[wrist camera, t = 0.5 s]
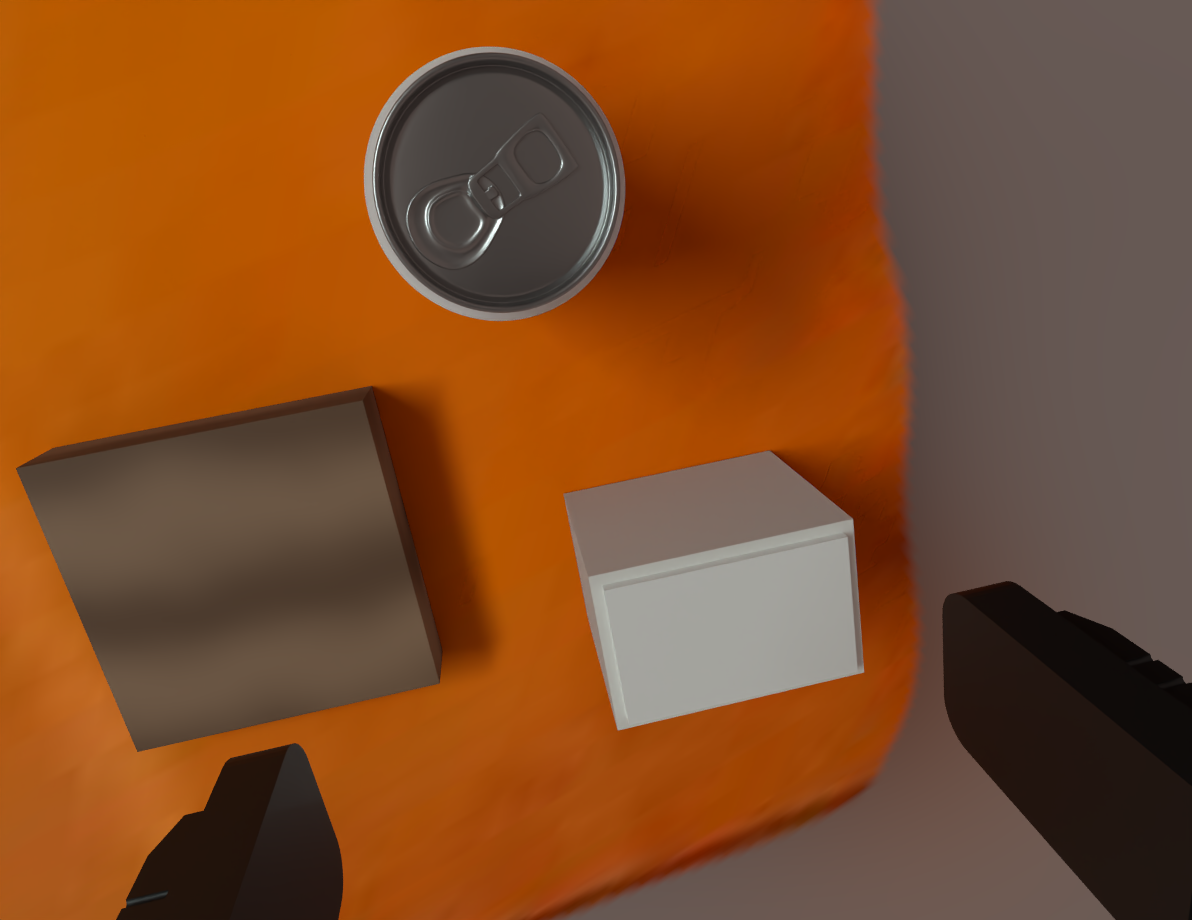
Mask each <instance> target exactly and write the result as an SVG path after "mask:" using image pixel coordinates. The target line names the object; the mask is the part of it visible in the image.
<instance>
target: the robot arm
mask: <svg viewBox="0 0 1192 920" xmlns="http://www.w3.org/2000/svg"><path fill="white" fill-rule="evenodd" d="M943 663H944V664H943V665H944V699H945V706H946V710H947V714H948V717H949V720H950V722H951V725H952V727H953V729H954V731H955V733H956V735H957V737H958V739H959V740H960V742H961V744H962V745H963V746H964V748H965V749H966V750H967V751H968V752H969V753H970V754H971V756H972V757H973V758H974V759H975V760H976V762H977V763H978V764H979V765H980V766H981V767H982V768H983V770H985V772H986V773H987V774H988V775H989V776H990V777H991V778H992V780H993V781H994V782H995V783H996V784H997V785H998V787H999V788H1000V789H1001V790H1002V791H1003V792H1004V793H1005V794H1006V796H1007V797H1008V798H1009V799H1010V800H1011V801H1012V802H1013V804H1014V805H1015V806H1016V807H1017V808H1018V809H1019V810H1020V812H1021V813H1022V814H1023V815H1024V816H1025V817H1026V818H1027V819H1028V821H1029V822H1030V823H1031V824H1032V825H1033V826H1034V827H1035V828H1036V830H1037V831H1038V832H1039V833H1040V834H1041V835H1042V836H1043V838H1044V839H1045V840H1046V841H1047V842H1048V843H1049V845H1050V846H1051V847H1052V848H1053V849H1054V850H1055V851H1056V853H1057V854H1058V855H1059V856H1060V857H1061V858H1062V859H1063V860H1064V861H1065V863H1066V864H1067V865H1068V866H1069V867H1070V868H1071V869H1072V871H1073V872H1074V873H1075V874H1076V875H1077V876H1078V877H1079V879H1080V880H1081V881H1082V882H1083V883H1084V884H1085V885H1086V887H1087V888H1088V889H1089V890H1090V891H1091V892H1092V893H1093V895H1094V896H1095V897H1096V898H1097V899H1098V900H1099V901H1100V903H1101V904H1102V905H1103V906H1104V907H1105V908H1106V909H1107V911H1108V912H1109V913H1110V914H1111V915H1112V916H1113V917H1114V918H1115V919H1116V920H1192V683H1187V684H1186V683H1185V682H1184V680H1183V677H1182V676H1181V675H1179V674H1178V673H1176V672H1175V671H1174V670H1172V669H1171V668H1169V667H1168V666H1166V665H1165V664H1163V663H1162V662H1160V661H1159V660H1156V661H1153V660H1152V658H1151V655H1150V654H1149V653H1147V652H1146V651H1144V650H1143V649H1141V648H1140V647H1139V646H1137V645H1136V644H1134V643H1133V642H1131V641H1130V640H1128V639H1127V638H1125V637H1124V636H1123V635H1121V634H1120V633H1118V632H1117V631H1115V630H1113V629H1112V628H1109V627H1107V626H1104V625H1102V624H1099V623H1096V622H1094V621H1091V620H1089V619H1086V618H1083V617H1081V616H1078V615H1075V614H1073V613H1070V612H1068V611H1060V612H1055V611H1054V610H1053V609H1051V608H1050V607H1048V606H1047V605H1046V604H1044V603H1043V602H1042V601H1040V600H1039V599H1037V598H1036V597H1035V596H1033V595H1032V594H1030V593H1029V592H1028V591H1026V590H1025V589H1024V588H1022V587H1021V586H1019V585H1018V584H1016V583H1014V582H1011V581H1005V582H1001V583H997V584H992V585H988V586H984V587H980V588H975V589H971V590H967V591H962V592H958V593H953V594H950V595H948V596H947V597H946V599H945V602H944V604H943ZM342 893H343V869H342V860H341V854H340V849H339V845H338V841H337V838H336V835H335V833H334V830H333V827H332V824H331V822H330V819H329V816H328V813H327V811H326V808H325V805H324V802H323V799H322V797H321V794H320V791H319V788H318V786H317V783H316V780H315V777H314V775H313V772H312V769H311V766H310V764H309V761H308V758H307V756H306V754H305V752H304V750H303V749H302V747H301V746H300V745H298V744H296V743H294V744H290V745H286V746H281V747H277V748H273V749H268V750H264V751H259V752H255V753H251V754H246V755H242V756H238V757H233V758H230V759H229V760H228V761H227V762H226V763H225V764H224V766H223V768H222V770H221V773H220V775H219V777H218V779H217V782H216V784H215V786H214V788H213V791H212V793H211V795H210V798H209V800H208V802H207V804H206V807H205V809H204V811H200V812H196V813H192V814H188V815H184V816H183V818H182V819H181V820H180V821H179V822H178V823H177V824H176V825H175V826H174V828H173V829H172V830H171V831H170V832H169V833H168V834H167V835H166V836H165V838H164V839H163V840H162V841H161V842H160V843H159V844H158V845H157V846H156V847H155V849H154V850H153V851H152V852H151V853H150V854H149V855H148V857H147V859H146V861H145V863H144V865H143V867H142V869H141V871H140V873H139V875H138V877H137V879H136V881H135V883H134V885H133V887H132V889H131V891H130V893H129V895H128V897H127V899H126V902H127V906H126V908H123V909H121V911H120V913H119V915H118V917H117V919H116V920H338V918H339V912H340V907H341V901H342Z"/></svg>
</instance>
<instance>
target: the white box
mask: <svg viewBox="0 0 1192 920" xmlns="http://www.w3.org/2000/svg"><path fill="white" fill-rule="evenodd" d="M564 498H565V503H566V509H567V514H568V519H569V524H570V529H571V534H572V539H573V544H574V549H575V554H576V560H577V565H578V570H579V575H580V580H581V585H582V590H583V595H584V600H585V605H586V611H587V616H588V620H589V624H590V628H591V631H592V635H593V639H594V643H595V646H596V650H597V654H598V658H599V661H600V665H601V669H602V673H603V677H604V680H605V684H606V688H607V692H608V695H609V699H610V703H611V707H612V710H613V714H614V718H615V722H616V725H617V729H618V730H622V729H626V728H630V727H634V726H639V725H643V724H647V723H651V722H655V721H660V720H664V719H668V718H672V717H677V716H681V715H685V714H689V713H694V712H698V711H702V710H706V709H711V708H715V707H719V706H723V705H728V704H732V703H736V702H740V701H745V700H749V699H753V698H757V697H762V696H766V695H770V694H774V693H779V692H783V691H787V690H791V689H796V688H800V687H804V686H808V685H812V684H817V683H821V682H825V681H829V680H834V679H838V678H842V677H846V676H851V675H855V674H859V673H863V672H864V665H863V651H862V637H861V623H860V609H859V595H858V581H857V567H856V553H855V539H854V525H853V518H851V517H850V516H849V515H848V514H846V513H845V512H844V511H843V510H842V509H840V508H839V507H838V506H837V505H835V504H834V503H833V502H832V501H831V500H829V499H828V498H827V497H826V496H824V495H823V494H822V493H821V492H820V491H818V490H817V489H816V488H815V487H814V486H812V485H811V484H810V483H809V482H807V481H806V480H805V479H804V478H803V477H801V476H800V475H799V474H798V473H796V472H795V471H794V470H793V469H792V468H790V467H789V466H788V465H787V464H785V463H784V462H783V461H782V460H781V459H779V458H778V457H777V456H776V455H774V454H773V453H772V452H771V451H765V452H761V453H756V454H751V455H746V456H742V457H737V458H732V459H727V460H723V461H718V462H713V463H708V464H703V465H699V466H694V467H689V468H684V469H680V470H675V471H670V472H665V473H661V474H656V475H651V476H646V477H642V478H637V479H632V480H627V481H622V482H618V483H613V484H608V485H603V486H599V487H594V488H589V489H584V490H580V491H575V492H570V493H565V494H564Z"/></svg>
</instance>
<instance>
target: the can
mask: <svg viewBox="0 0 1192 920" xmlns="http://www.w3.org/2000/svg"><path fill="white" fill-rule="evenodd" d="M364 190H365V198H366V205H367V210H368V214H369V217H370V221H371V224H372V227H373V230H374V232H375V235H376V237H377V239H378V241H379V243H380V245H381V247H382V249H383V251H384V253H385V254H386V256H387V257H388V259H389V260H390V262H391V263H392V265H393V266H394V267H395V269H396V270H397V271H398V272H399V273H400V275H401V276H402V277H403V278H404V279H405V280H406V281H407V282H408V283H409V284H410V285H411V286H412V287H413V288H415V289H416V290H417V291H418V292H419V293H421V294H422V295H423V296H425V297H426V298H428V299H429V300H431V301H432V302H434V303H436V304H438V305H439V306H441V307H443V308H445V309H448V310H450V311H452V312H455V313H458V314H461V315H464V316H467V317H471V318H476V319H482V320H491V321H509V320H518V319H524V318H529V317H533V316H536V315H539V314H542V313H545V312H547V311H549V310H552V309H554V308H556V307H558V306H560V305H561V304H563V303H565V302H566V301H568V300H569V299H571V298H572V297H573V296H575V295H576V294H577V293H578V292H580V291H581V290H582V289H583V288H584V287H585V286H586V285H587V284H588V283H589V282H590V281H591V280H592V279H593V278H594V276H595V275H596V274H597V273H598V271H599V270H600V269H601V267H602V266H603V264H604V263H605V261H606V259H607V258H608V256H609V254H610V252H611V250H612V248H613V246H614V243H615V241H616V238H617V236H618V233H619V230H620V226H621V222H622V218H623V212H624V204H625V175H624V167H623V161H622V157H621V152H620V149H619V146H618V143H617V140H616V137H615V135H614V132H613V130H612V128H611V126H610V124H609V122H608V120H607V118H606V116H605V114H604V113H603V111H602V110H601V108H600V107H599V105H598V104H597V102H596V101H595V100H594V99H593V97H592V96H591V95H590V94H589V93H588V92H587V90H586V89H585V88H584V87H583V86H582V85H581V84H580V83H579V82H577V81H576V80H575V79H574V78H573V77H572V76H570V75H569V74H568V73H566V72H565V71H564V70H562V69H561V68H559V67H558V66H556V65H554V64H552V63H551V62H549V61H547V60H545V59H543V58H540V57H538V56H535V55H533V54H530V53H527V52H523V51H520V50H515V49H510V48H503V47H476V48H469V49H463V50H459V51H455V52H452V53H449V54H446V55H444V56H441V57H439V58H437V59H435V60H433V61H431V62H429V63H427V64H426V65H424V66H423V67H421V68H420V69H418V70H417V71H415V72H414V73H413V74H412V75H410V76H409V77H408V78H407V79H406V80H405V81H404V82H403V83H402V84H401V85H400V86H399V87H398V88H397V89H396V90H395V92H394V93H393V94H392V95H391V97H390V98H389V99H388V101H387V102H386V104H385V105H384V107H383V109H382V110H381V112H380V114H379V116H378V118H377V120H376V123H375V125H374V127H373V130H372V133H371V136H370V139H369V143H368V147H367V152H366V158H365V167H364Z"/></svg>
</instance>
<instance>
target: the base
mask: <svg viewBox="0 0 1192 920" xmlns="http://www.w3.org/2000/svg"><path fill="white" fill-rule="evenodd" d="M16 470H17V472H18V474H19V477H20V479H21V481H22V484H23V486H24V488H25V491H26V493H27V495H28V498H29V500H30V502H31V505H32V507H33V509H34V512H35V514H36V516H37V519H38V521H39V523H40V526H41V528H42V530H43V533H44V535H45V537H46V540H47V542H48V544H49V547H50V549H51V551H52V554H53V556H54V558H55V561H56V563H57V565H58V568H59V570H60V572H61V575H62V577H63V579H64V581H65V584H66V586H67V588H68V591H69V593H70V595H71V598H72V600H73V602H74V605H75V607H76V609H77V612H78V614H79V616H80V619H81V621H82V623H83V626H84V628H85V630H86V633H87V635H88V637H89V640H90V642H91V644H92V647H93V649H94V651H95V654H96V656H97V658H98V661H99V663H100V665H101V668H102V670H103V672H104V675H105V677H106V679H107V682H108V684H109V686H110V689H111V691H112V693H113V696H114V698H115V700H116V703H117V705H118V707H119V710H120V712H121V714H122V717H123V719H124V721H125V724H126V726H127V728H128V731H129V733H130V735H131V738H132V740H133V742H134V745H135V747H136V749H137V752H139V751H143V750H148V749H152V748H157V747H161V746H166V745H170V744H174V743H179V742H183V741H188V740H192V739H196V738H201V737H205V736H210V735H214V734H219V733H223V732H227V731H232V730H236V729H241V728H245V727H249V726H254V725H258V724H263V723H267V722H271V721H276V720H280V719H285V718H289V717H294V716H298V715H302V714H307V713H311V712H316V711H320V710H324V709H329V708H333V707H338V706H342V705H346V704H351V703H355V702H360V701H364V700H369V699H373V698H377V697H382V696H386V695H391V694H395V693H399V692H404V691H408V690H413V689H417V688H421V687H426V686H430V685H435V684H439V683H440V674H441V662H442V647H441V644H440V640H439V636H438V633H437V629H436V625H435V621H434V618H433V614H432V610H431V606H430V603H429V599H428V595H427V591H426V588H425V584H424V580H423V576H422V573H421V569H420V565H419V561H418V558H417V554H416V550H415V546H414V543H413V539H412V535H411V531H410V528H409V524H408V520H407V516H406V513H405V509H404V505H403V501H402V498H401V494H400V490H399V486H398V483H397V479H396V475H395V471H394V468H393V464H392V460H391V456H390V453H389V449H388V445H387V442H386V438H385V434H384V430H383V427H382V423H381V419H380V415H379V412H378V408H377V404H376V400H375V397H374V393H373V389H372V386H369V387H364V388H359V389H354V390H349V391H344V392H338V393H333V394H328V395H323V396H318V397H313V398H308V399H302V400H297V401H292V402H287V403H282V404H277V405H272V406H267V407H261V408H256V409H251V410H246V411H241V412H236V413H231V414H226V415H220V416H215V417H210V418H205V419H200V420H195V421H190V422H185V423H179V424H174V425H169V426H164V427H159V428H154V429H149V430H143V431H138V432H133V433H128V434H123V435H118V436H113V437H108V438H102V439H97V440H92V441H87V442H82V443H77V444H72V445H67V446H61V447H56V448H52V449H50V450H49V451H47V452H45V453H43V454H41V455H40V456H38V457H36V458H34V459H32V460H30V461H29V462H27V463H25V464H23V465H21V466H19V467H18V468H16Z"/></svg>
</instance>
